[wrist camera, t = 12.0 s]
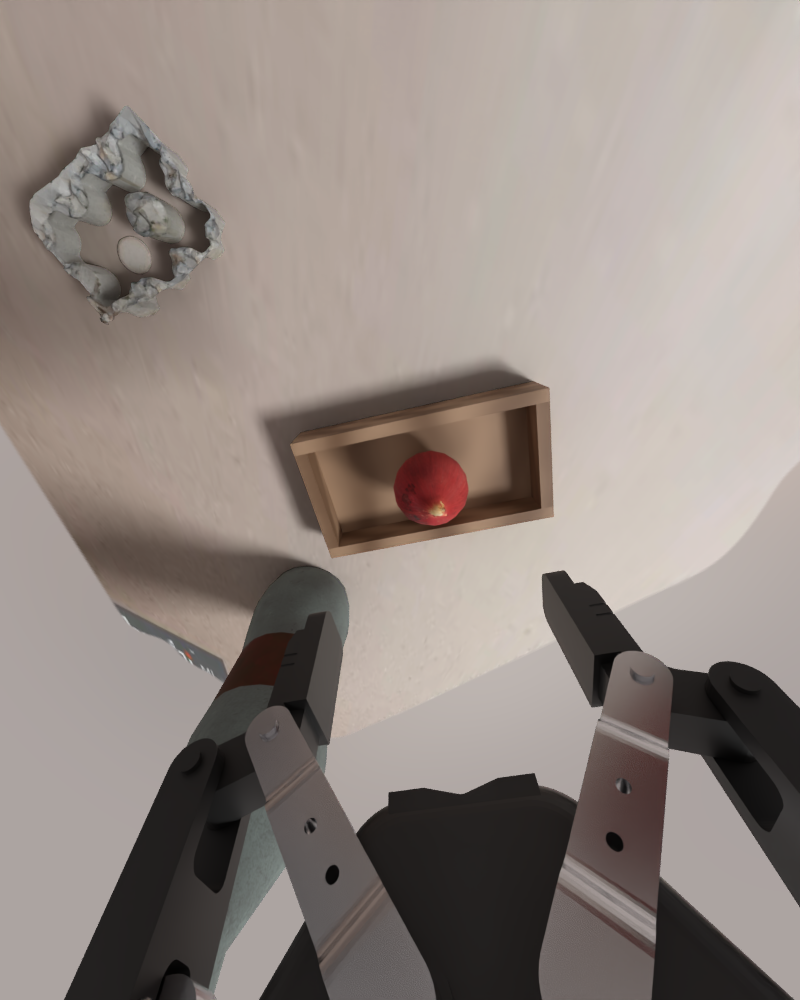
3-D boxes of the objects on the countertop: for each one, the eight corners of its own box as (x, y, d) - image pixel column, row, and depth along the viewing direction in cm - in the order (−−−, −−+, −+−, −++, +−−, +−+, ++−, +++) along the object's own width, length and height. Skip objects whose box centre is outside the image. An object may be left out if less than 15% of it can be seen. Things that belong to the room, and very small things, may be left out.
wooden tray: (337, 537, 36) (331, 558, 33) (300, 432, 31) (289, 444, 28) (539, 499, 34) (553, 516, 31) (533, 381, 29) (549, 387, 26)
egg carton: (139, 331, 28) (100, 332, 24) (57, 227, 25) (-3, 211, 21) (246, 250, 26) (220, 238, 22) (168, 125, 23) (122, 87, 19)
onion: (417, 510, 33) (424, 563, 26) (380, 464, 31) (376, 507, 24) (471, 477, 32) (493, 522, 25) (436, 425, 30) (449, 459, 23)
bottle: (260, 615, 40) (-17, 1202, 13) (274, 551, 37) (-73, 1188, 10) (341, 634, 42) (239, 1203, 15) (363, 574, 38) (278, 1190, 11)
